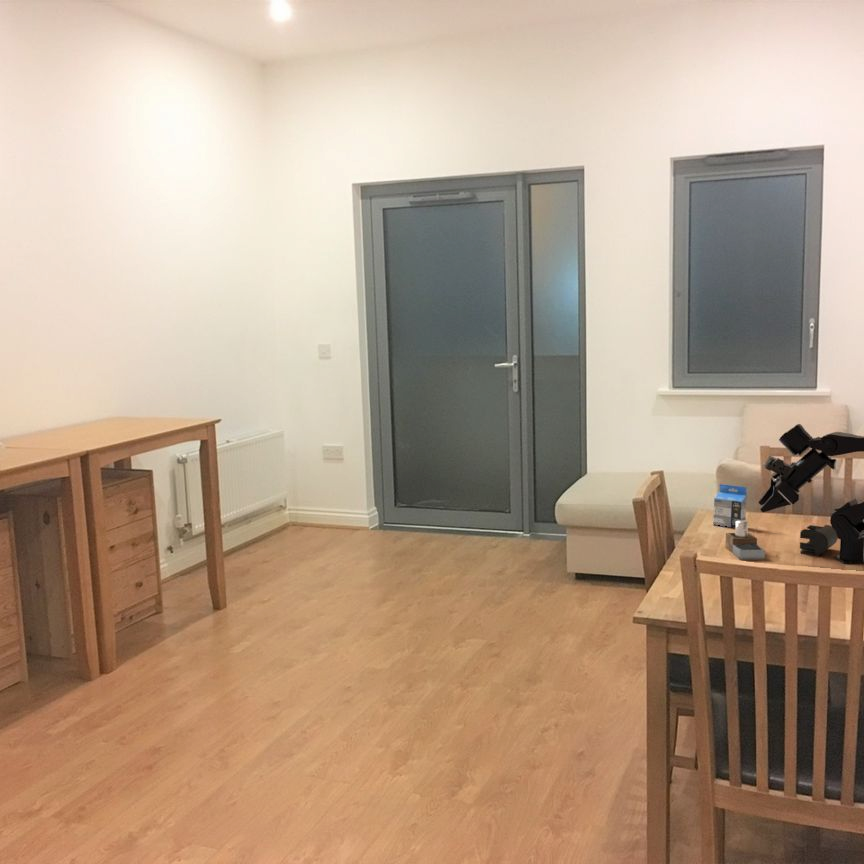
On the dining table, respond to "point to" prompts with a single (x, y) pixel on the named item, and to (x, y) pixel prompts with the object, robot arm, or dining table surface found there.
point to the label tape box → (729, 505)
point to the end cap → (817, 539)
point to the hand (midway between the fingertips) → (760, 507)
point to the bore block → (738, 540)
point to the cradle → (748, 551)
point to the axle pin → (741, 529)
